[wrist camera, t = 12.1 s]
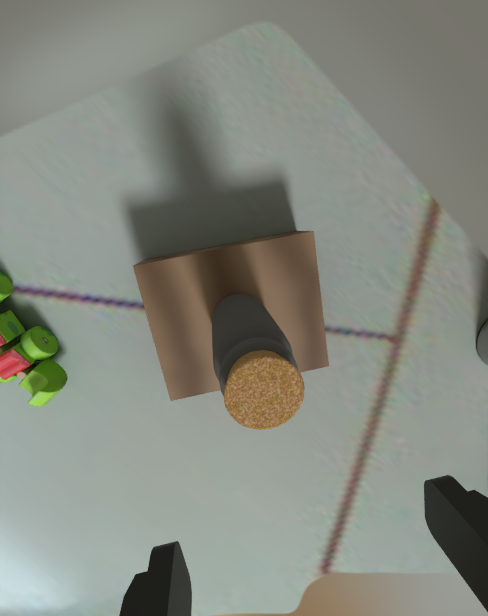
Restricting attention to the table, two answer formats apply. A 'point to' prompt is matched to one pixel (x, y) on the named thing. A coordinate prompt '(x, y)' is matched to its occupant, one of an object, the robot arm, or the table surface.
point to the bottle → (254, 364)
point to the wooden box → (221, 283)
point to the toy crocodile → (28, 355)
